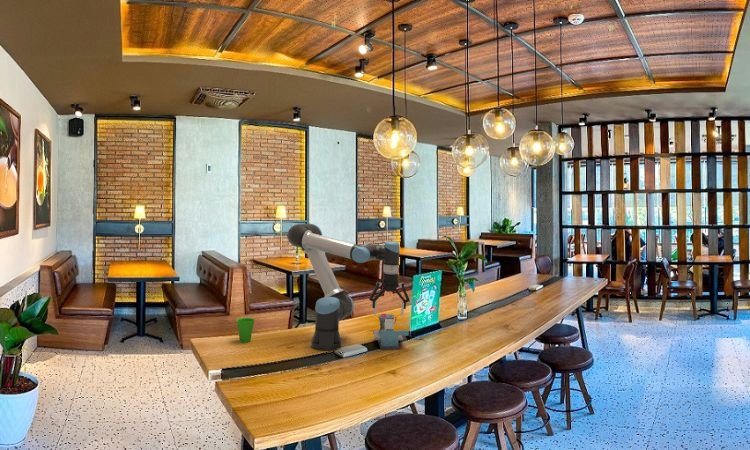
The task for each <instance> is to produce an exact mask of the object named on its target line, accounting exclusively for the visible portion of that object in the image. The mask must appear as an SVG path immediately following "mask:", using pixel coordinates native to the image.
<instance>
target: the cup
mask: <svg viewBox="0 0 750 450" xmlns="http://www.w3.org/2000/svg"><path fill="white" fill-rule="evenodd" d="M255 321H256V319H255V318H254V317H242V318H241V317H239V318H237V319H236V324H237V331H238V337H239V342H240V343H243V344H246V343H250V342H251V340H252V335H253V329H254V323H255Z"/></svg>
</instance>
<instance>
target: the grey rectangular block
mask: <svg viewBox="0 0 750 450" xmlns="http://www.w3.org/2000/svg"><path fill="white" fill-rule="evenodd" d="M394 322H395V320H393V319H385V330H394V327H395V324H394Z"/></svg>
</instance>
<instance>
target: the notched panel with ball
mask: <svg viewBox="0 0 750 450" xmlns="http://www.w3.org/2000/svg"><path fill="white" fill-rule="evenodd" d="M372 334H373V336H374V340H375V341H377V342H378V345H379V350H383V351H384V350H386V351H387V350H388V351H390V350H391V351H392V350H394V351H399V349H400V346H399V341H404V337H403V336H410V335H409V334H410V331H409V330H406V329H405V330H403V329H402V330H401V329H400V330H399V329H398V330H385V322H384V330H380V329H379V330H376V329H375V330H372Z"/></svg>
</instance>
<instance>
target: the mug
mask: <svg viewBox="0 0 750 450" xmlns="http://www.w3.org/2000/svg"><path fill="white" fill-rule="evenodd" d="M377 318H378V320H379V330H384V322H385V319H393V321H394V325H395V324H396V322H397V317H396V316H395V315H394V314H392V313H380V314H378V315H377Z"/></svg>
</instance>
